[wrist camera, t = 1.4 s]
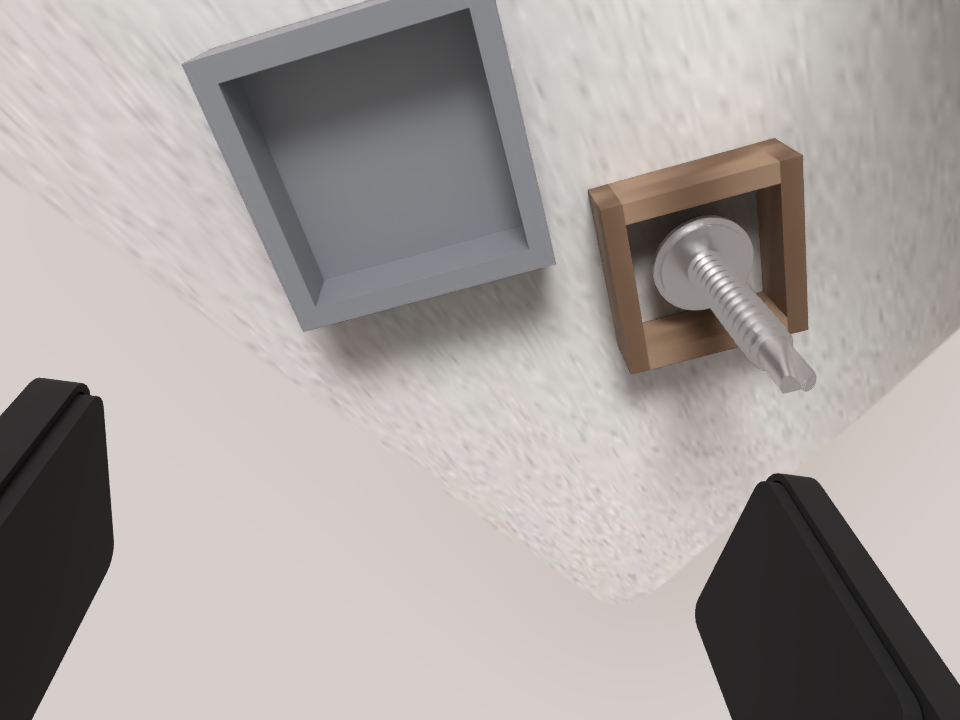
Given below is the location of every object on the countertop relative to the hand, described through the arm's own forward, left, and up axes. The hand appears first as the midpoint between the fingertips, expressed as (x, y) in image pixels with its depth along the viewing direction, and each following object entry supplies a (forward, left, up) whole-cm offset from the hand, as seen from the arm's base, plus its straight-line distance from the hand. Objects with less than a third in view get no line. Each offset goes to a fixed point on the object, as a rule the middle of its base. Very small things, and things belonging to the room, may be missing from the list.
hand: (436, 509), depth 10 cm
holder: (-11, +10, -26) cm, 30 cm away
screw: (-11, +10, -26) cm, 30 cm away
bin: (+2, +1, -26) cm, 26 cm away
